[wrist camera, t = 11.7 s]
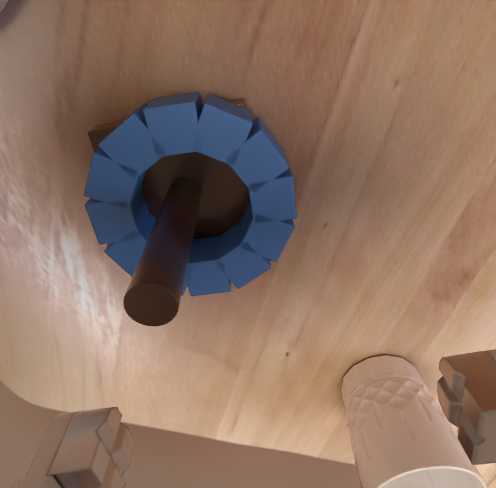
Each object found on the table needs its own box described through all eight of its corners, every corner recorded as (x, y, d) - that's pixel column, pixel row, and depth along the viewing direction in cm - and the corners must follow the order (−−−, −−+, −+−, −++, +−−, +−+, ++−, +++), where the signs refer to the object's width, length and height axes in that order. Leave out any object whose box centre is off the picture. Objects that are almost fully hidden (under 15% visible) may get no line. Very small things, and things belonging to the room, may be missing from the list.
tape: (132, 278, 27) (121, 305, 24) (75, 109, 21) (53, 121, 19) (295, 257, 26) (302, 283, 24) (280, 79, 21) (286, 87, 18)
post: (141, 253, 28) (79, 403, 17) (95, 126, 23) (-29, 216, 12) (267, 233, 27) (288, 374, 16) (244, 98, 23) (252, 167, 12)
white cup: (321, 404, 36) (348, 526, 27) (353, 342, 32) (396, 459, 24) (400, 416, 37) (450, 537, 28) (439, 357, 33) (511, 475, 25)
